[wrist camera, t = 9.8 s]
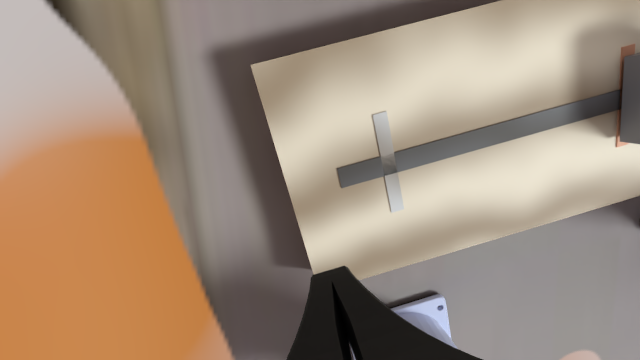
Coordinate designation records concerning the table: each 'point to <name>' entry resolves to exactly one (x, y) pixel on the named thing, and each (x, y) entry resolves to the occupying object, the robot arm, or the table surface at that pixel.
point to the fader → (631, 100)
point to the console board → (453, 129)
